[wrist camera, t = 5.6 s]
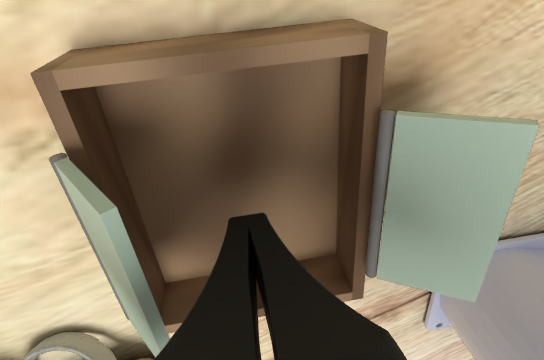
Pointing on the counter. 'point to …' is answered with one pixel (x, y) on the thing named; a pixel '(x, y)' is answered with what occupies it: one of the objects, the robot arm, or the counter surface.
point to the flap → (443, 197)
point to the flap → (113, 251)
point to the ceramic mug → (74, 346)
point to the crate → (229, 146)
